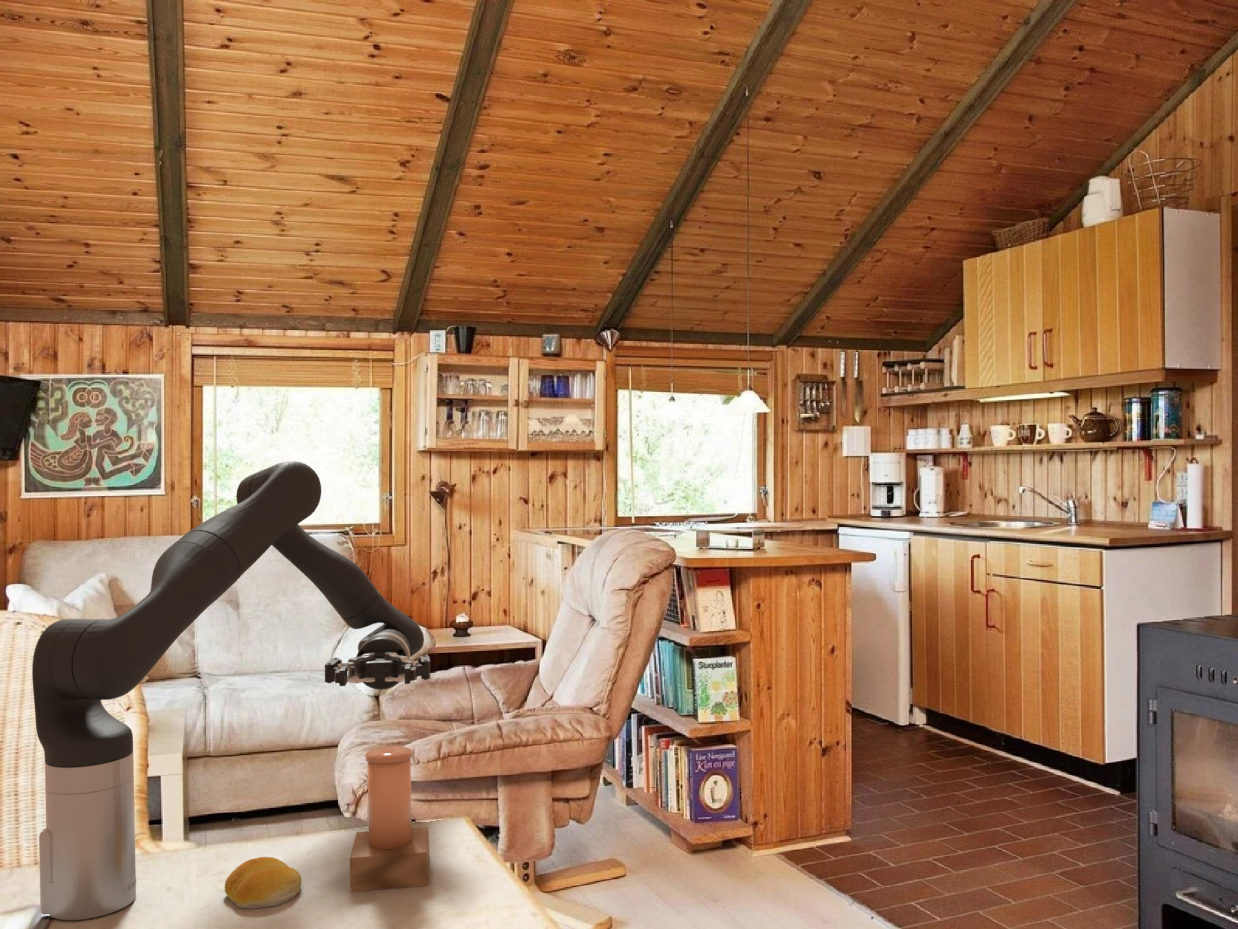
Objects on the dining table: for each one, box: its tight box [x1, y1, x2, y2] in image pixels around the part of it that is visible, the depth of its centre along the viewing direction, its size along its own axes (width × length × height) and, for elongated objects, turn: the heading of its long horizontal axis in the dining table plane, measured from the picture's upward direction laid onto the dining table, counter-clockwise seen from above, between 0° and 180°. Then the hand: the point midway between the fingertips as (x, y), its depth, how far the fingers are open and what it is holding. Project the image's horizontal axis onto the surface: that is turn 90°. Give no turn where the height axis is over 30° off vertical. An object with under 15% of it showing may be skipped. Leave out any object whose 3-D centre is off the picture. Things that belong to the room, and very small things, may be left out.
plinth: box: [349, 826, 430, 893], centre depth 129 cm, size 9×9×4 cm
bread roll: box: [224, 856, 302, 909], centre depth 124 cm, size 8×9×4 cm
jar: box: [365, 745, 413, 849], centre depth 129 cm, size 6×6×11 cm
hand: (374, 677), depth 139 cm, fingers open, 8 cm apart
